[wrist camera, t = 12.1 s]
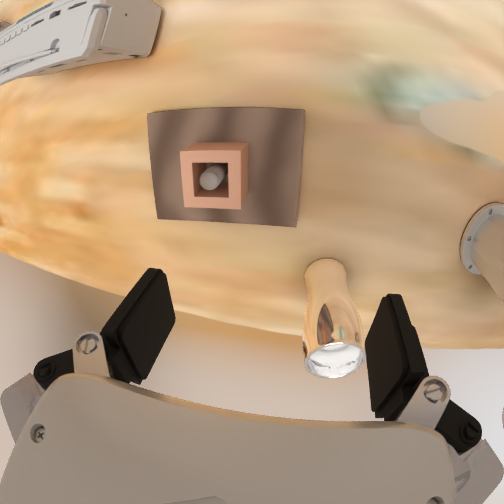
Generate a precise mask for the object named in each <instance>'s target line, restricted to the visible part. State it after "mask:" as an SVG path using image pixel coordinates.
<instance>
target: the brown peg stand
mask: <svg viewBox="0 0 504 504" xmlns="http://www.w3.org/2000/svg"><path fill="white" fill-rule="evenodd" d="M304 116H305V110H299V109H285V108H263V107H219V108H197V109H183V110H172V111H162V112H154V113H148V114H147V121H148V137H149V149H150V160H151V170H152V179H153V188H154V196H155V203H156V210H157V217H158V219H168V220H190V221H209V222H227V223H243V224H258V225H272V226H285V227H296V225H297V214H298V203H299V191H300V179H301V165H302V151H303V135H304ZM204 142H248V194H247V196H246V199H245V201H244V203H243V206H242V208H241V210H240V209H219V208H193V207H184V199H183V188H182V176H181V163H180V151H181V150H183V149H185V148H187V147H189V146H190V145H192V144H194V143H204ZM221 182H228V163H216V162H207V170H205V171H204V172H203V173H202V174H201V176H200V184H201V186H202V187H203V188H204V189H206V190H213V189H215V188H217V187H218V185H219V184H220V183H221Z"/></svg>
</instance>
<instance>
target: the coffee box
mask: <svg viewBox="0 0 504 504" xmlns="http://www.w3.org/2000/svg"><path fill="white" fill-rule="evenodd" d="M9 26H11V24H9V23H7V22H0V32H1V31H3V30H4V29H6V28H7V27H9Z"/></svg>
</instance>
